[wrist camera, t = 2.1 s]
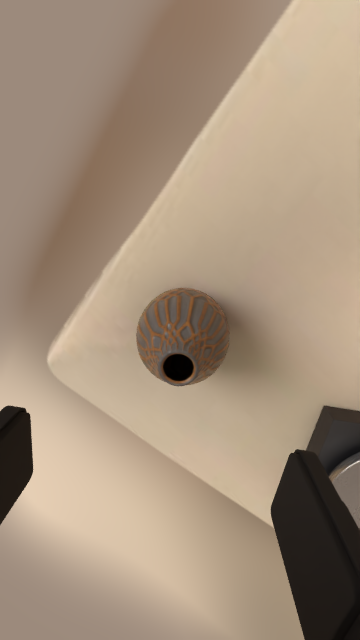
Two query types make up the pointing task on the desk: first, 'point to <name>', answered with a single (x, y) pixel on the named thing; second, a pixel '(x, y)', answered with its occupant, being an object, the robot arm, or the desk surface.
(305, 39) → the desk surface
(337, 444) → the scale
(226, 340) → the vase
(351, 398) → the desk surface
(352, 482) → the scale pan
